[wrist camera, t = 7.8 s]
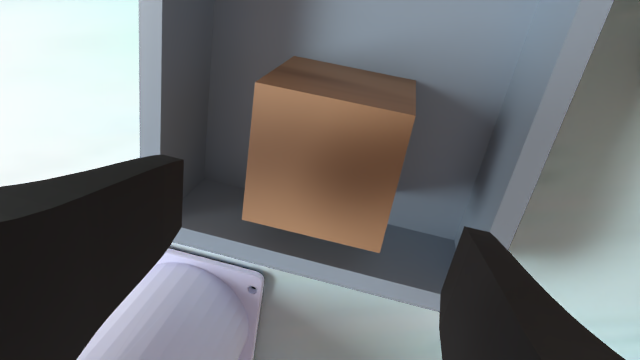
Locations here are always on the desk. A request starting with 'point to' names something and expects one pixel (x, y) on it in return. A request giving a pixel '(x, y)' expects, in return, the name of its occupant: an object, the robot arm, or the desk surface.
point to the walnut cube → (327, 150)
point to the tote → (427, 133)
